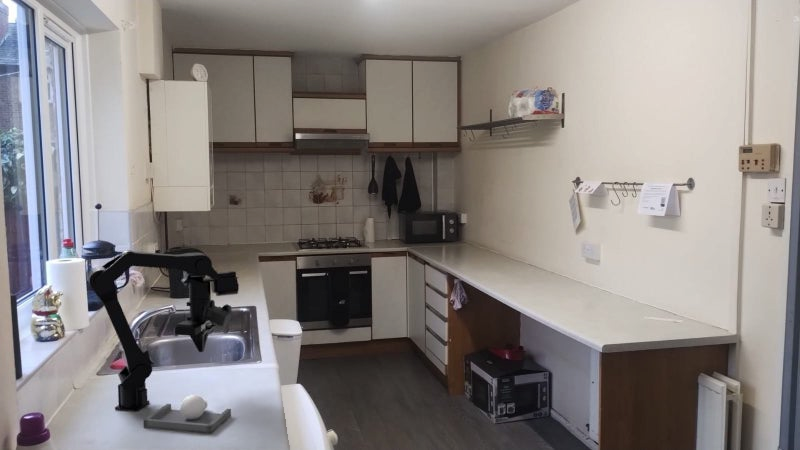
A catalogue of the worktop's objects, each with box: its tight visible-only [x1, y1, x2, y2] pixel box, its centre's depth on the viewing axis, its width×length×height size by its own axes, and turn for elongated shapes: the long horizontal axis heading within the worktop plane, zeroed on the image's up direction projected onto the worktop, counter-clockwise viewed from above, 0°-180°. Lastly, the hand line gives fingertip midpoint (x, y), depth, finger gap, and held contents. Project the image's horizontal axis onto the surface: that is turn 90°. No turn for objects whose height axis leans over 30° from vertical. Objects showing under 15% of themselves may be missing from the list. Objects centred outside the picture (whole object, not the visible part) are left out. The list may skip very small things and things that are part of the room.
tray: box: [142, 403, 232, 435], centre depth 159 cm, size 18×11×2 cm, turn 80°
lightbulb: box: [179, 394, 208, 420], centre depth 162 cm, size 6×6×11 cm
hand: (201, 351), depth 177 cm, fingers closed
